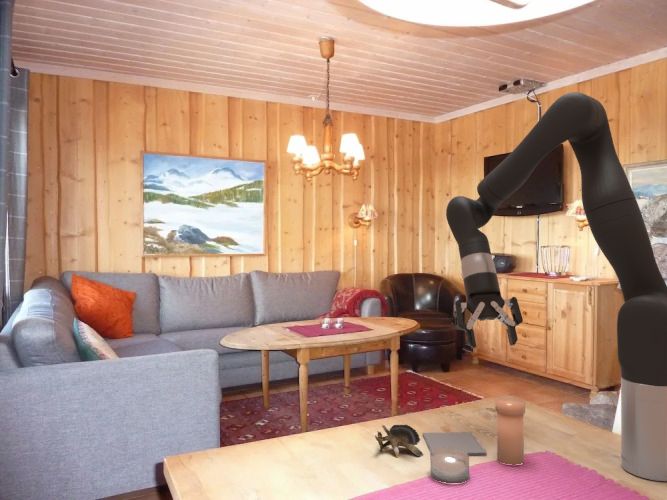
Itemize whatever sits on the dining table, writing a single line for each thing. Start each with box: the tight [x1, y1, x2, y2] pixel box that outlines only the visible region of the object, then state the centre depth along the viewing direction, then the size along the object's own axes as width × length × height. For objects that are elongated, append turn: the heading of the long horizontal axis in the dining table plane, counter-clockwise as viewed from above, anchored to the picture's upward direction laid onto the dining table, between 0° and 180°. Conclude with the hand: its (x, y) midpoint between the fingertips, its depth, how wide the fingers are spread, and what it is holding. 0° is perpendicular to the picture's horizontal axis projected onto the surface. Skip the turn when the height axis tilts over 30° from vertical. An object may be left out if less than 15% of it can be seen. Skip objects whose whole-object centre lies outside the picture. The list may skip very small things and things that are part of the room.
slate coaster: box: [422, 431, 487, 457], centre depth 107 cm, size 11×11×1 cm
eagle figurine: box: [374, 424, 424, 459], centre depth 103 cm, size 8×7×9 cm
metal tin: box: [429, 447, 470, 483], centre depth 93 cm, size 7×7×4 cm
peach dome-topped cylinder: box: [494, 396, 526, 465], centre depth 99 cm, size 6×6×12 cm
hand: (493, 346), depth 108 cm, fingers open, 8 cm apart
